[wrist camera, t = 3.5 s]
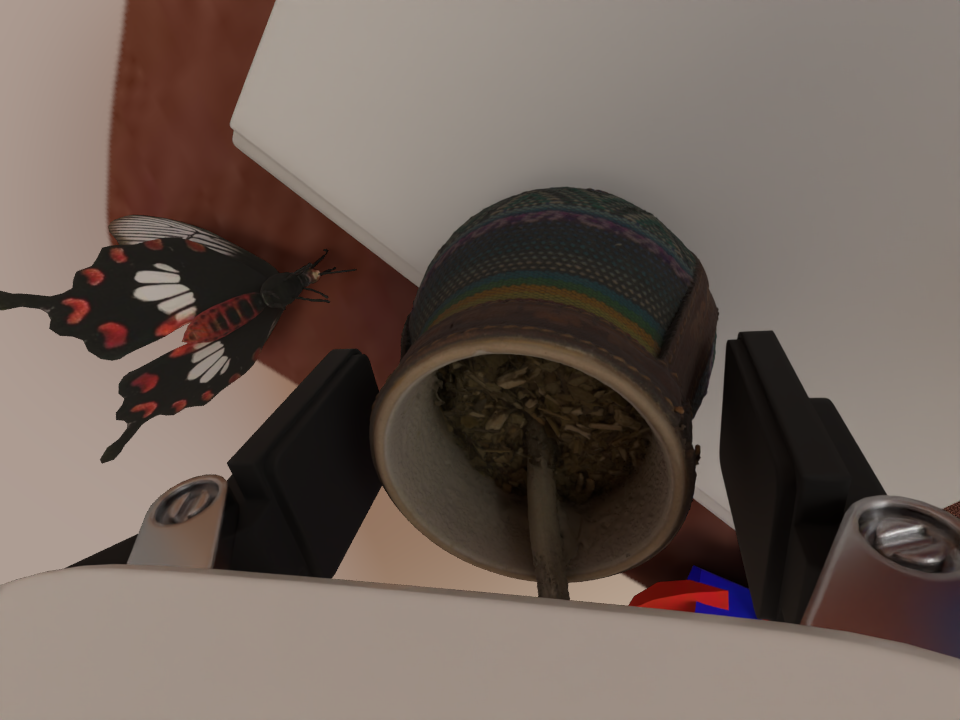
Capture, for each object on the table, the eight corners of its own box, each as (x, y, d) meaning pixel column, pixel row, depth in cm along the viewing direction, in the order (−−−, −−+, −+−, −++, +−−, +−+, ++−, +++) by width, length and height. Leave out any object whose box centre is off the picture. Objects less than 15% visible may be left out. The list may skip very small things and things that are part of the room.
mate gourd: (634, 101, 13) (648, 212, 4) (746, 354, 15) (892, 737, 7) (404, 239, 16) (154, 457, 7) (527, 429, 18) (443, 752, 10)
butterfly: (-165, 392, 12) (-18, 320, 21) (161, 554, 16) (171, 439, 25) (184, 80, 14) (187, 132, 22) (399, 299, 18) (333, 272, 27)
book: (697, -1118, 6) (1626, 198, 10) (670, -725, 9) (1379, 159, 13) (214, 159, 16) (776, 586, 20) (282, 139, 19) (754, 509, 23)
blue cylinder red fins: (876, 1015, 19) (556, 813, 23) (845, 700, 28) (621, 597, 32) (1115, 916, 12) (616, 663, 17) (974, 553, 22) (675, 448, 26)
